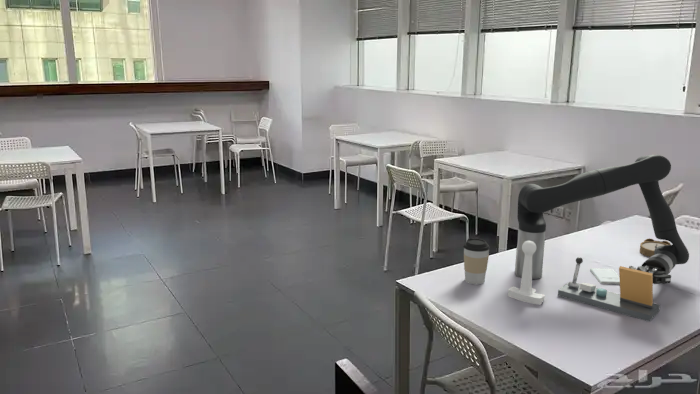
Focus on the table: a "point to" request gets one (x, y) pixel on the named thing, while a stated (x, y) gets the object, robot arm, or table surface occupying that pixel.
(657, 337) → the table surface
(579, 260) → the toggle lever
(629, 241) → the table surface
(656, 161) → the robot arm
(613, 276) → the external hard drive
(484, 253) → the coffee cup
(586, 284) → the block
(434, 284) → the table surface
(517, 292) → the joystick
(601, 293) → the push button
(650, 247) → the alarm clock
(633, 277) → the tan flat slab
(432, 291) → the table surface
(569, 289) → the panel
